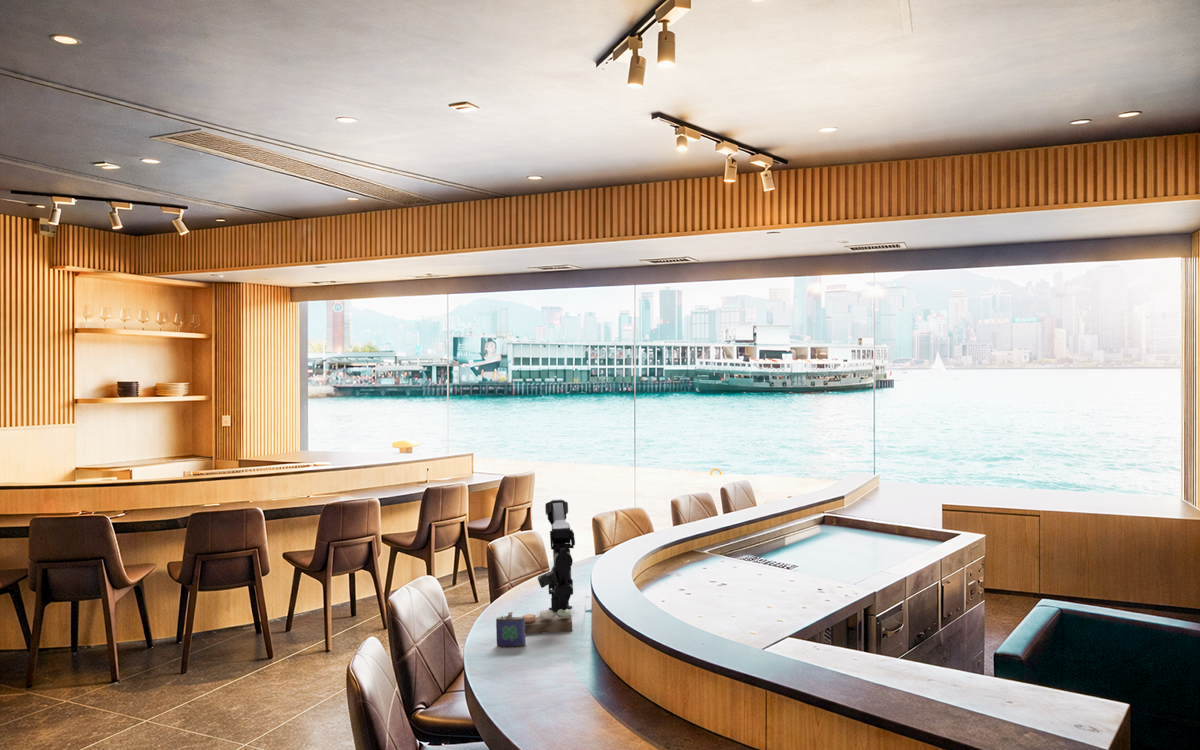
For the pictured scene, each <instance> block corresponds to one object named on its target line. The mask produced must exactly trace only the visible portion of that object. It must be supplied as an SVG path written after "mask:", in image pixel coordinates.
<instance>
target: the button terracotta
mask: <svg viewBox="0 0 1200 750" xmlns="http://www.w3.org/2000/svg"><path fill="white" fill-rule="evenodd" d="M521 617H524V618H525V623H532V622H535V617H536V614H534V613H533V614H530V613H529V614H527V613H526V614H524V615H522V616H521Z"/></svg>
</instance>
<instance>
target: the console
mask: <svg viewBox="0 0 1200 750" xmlns="http://www.w3.org/2000/svg"><path fill="white" fill-rule="evenodd" d="M572 617H573V616H572V615H571V616H569V617H558V615H555V616H554V615H553V617H552V618H547V619H544V618H540V616H537V617H536V616H535V622H532V623H525V635H530V634H529V633H536V634H544V633H543V632H551V633H562V632H564V633H566V631H567V632H573V618H572Z"/></svg>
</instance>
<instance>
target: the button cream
mask: <svg viewBox="0 0 1200 750" xmlns="http://www.w3.org/2000/svg"><path fill="white" fill-rule="evenodd" d="M553 616H554V611H553V610H549V609H543V610H541V611H540V612H539V617H540V618H544V619H547V618H552V617H553Z"/></svg>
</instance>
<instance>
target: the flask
mask: <svg viewBox="0 0 1200 750" xmlns="http://www.w3.org/2000/svg"><path fill="white" fill-rule="evenodd" d="M513 613H514V612H513V611H510V612H509V611H508V612H507V614H508V615H504V616H503V615H501V616H500V617H499V616H498V617H496V619H495V623H496V624H495V629H496V646H497V648H498V647H501V648H502V649H504V648H503V647H506V649H510V648H512V647H513V648H521V647H525V646H526V634H525V618H524V617H522V616H514V617H513ZM509 647H510V648H509ZM501 648H500V649H501Z"/></svg>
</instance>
